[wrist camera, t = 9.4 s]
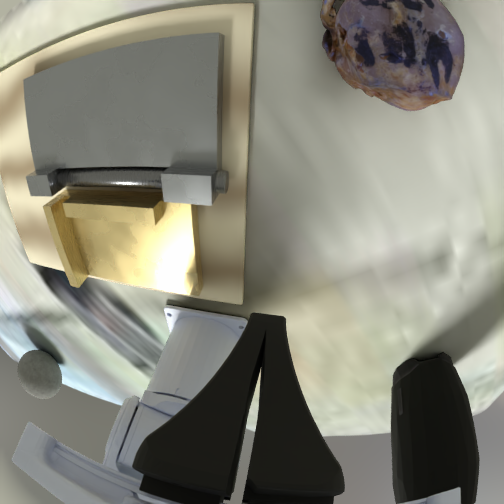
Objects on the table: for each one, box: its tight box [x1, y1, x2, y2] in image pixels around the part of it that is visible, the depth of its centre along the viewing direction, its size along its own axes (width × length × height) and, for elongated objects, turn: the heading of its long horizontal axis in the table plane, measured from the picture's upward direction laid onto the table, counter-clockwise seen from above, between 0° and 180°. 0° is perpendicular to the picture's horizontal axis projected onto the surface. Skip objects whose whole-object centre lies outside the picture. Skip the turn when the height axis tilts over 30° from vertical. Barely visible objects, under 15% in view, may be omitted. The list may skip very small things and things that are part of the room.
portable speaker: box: [391, 352, 479, 504], centre depth 19 cm, size 9×9×20 cm
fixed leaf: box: [23, 32, 229, 206], centre depth 15 cm, size 10×17×2 cm, turn 88°
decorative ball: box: [18, 350, 62, 399], centre depth 40 cm, size 10×10×10 cm
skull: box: [320, 0, 464, 111], centre depth 8 cm, size 12×8×6 cm, turn 177°
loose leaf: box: [43, 190, 203, 296], centre depth 20 cm, size 8×12×3 cm
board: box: [0, 3, 255, 305], centre depth 19 cm, size 22×26×1 cm
